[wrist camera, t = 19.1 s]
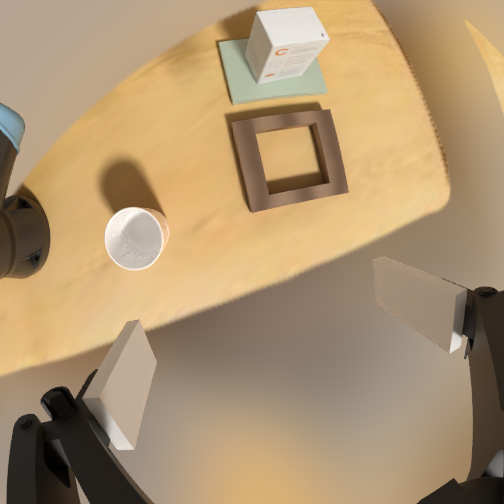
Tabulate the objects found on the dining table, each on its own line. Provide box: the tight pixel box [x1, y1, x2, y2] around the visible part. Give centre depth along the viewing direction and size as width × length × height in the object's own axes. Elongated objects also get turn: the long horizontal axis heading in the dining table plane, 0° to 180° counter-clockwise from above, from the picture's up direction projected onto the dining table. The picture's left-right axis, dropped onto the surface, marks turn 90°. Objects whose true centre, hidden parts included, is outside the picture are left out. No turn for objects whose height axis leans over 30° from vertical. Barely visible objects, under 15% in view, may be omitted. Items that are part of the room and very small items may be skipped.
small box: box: [245, 7, 330, 84], centre depth 32 cm, size 8×6×13 cm
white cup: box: [104, 207, 170, 270], centre depth 38 cm, size 8×8×10 cm
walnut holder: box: [231, 109, 349, 213], centre depth 42 cm, size 16×14×2 cm
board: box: [219, 38, 328, 105], centre depth 39 cm, size 16×12×2 cm
